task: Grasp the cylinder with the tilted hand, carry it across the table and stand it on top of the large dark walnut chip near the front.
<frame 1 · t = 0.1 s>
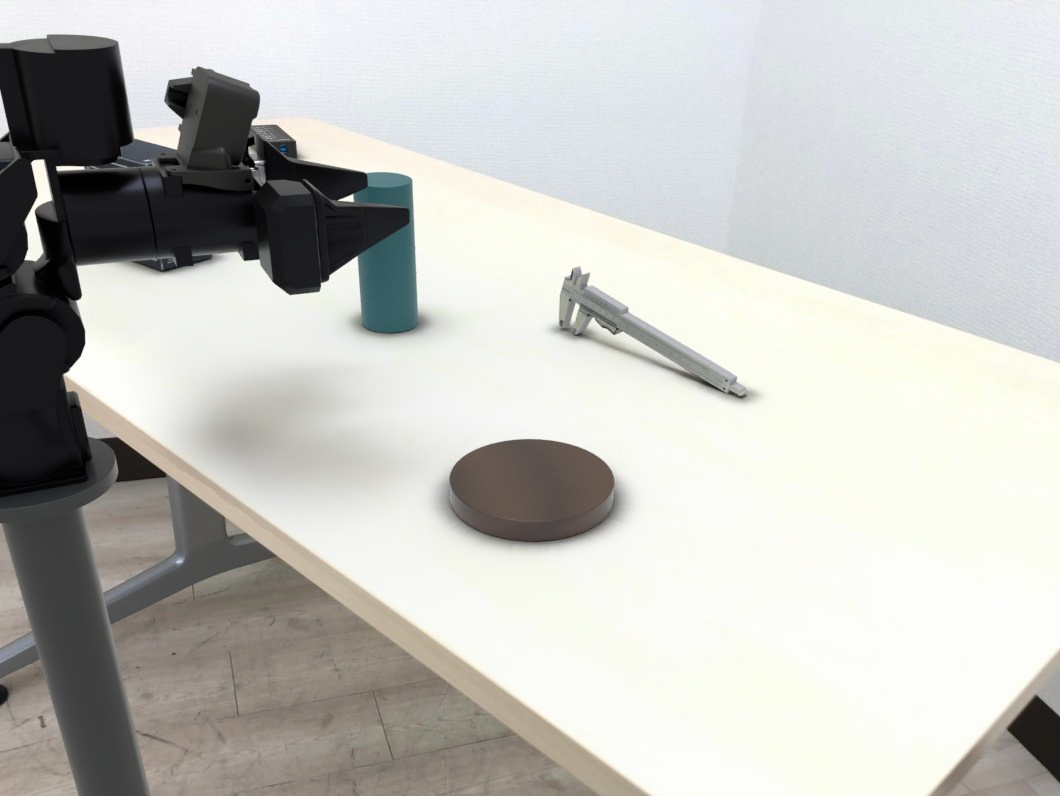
hand: (387, 196, 73), 16 cm above the table, tool horizontal, fingers open, 9 cm apart
multiport hub: (272, 151, 147), on the table
small box: (157, 255, 107), on the table
cylinder: (390, 322, 95), on the table
caliper: (647, 363, 92), on the table
walnut chip: (532, 496, 71), on the table
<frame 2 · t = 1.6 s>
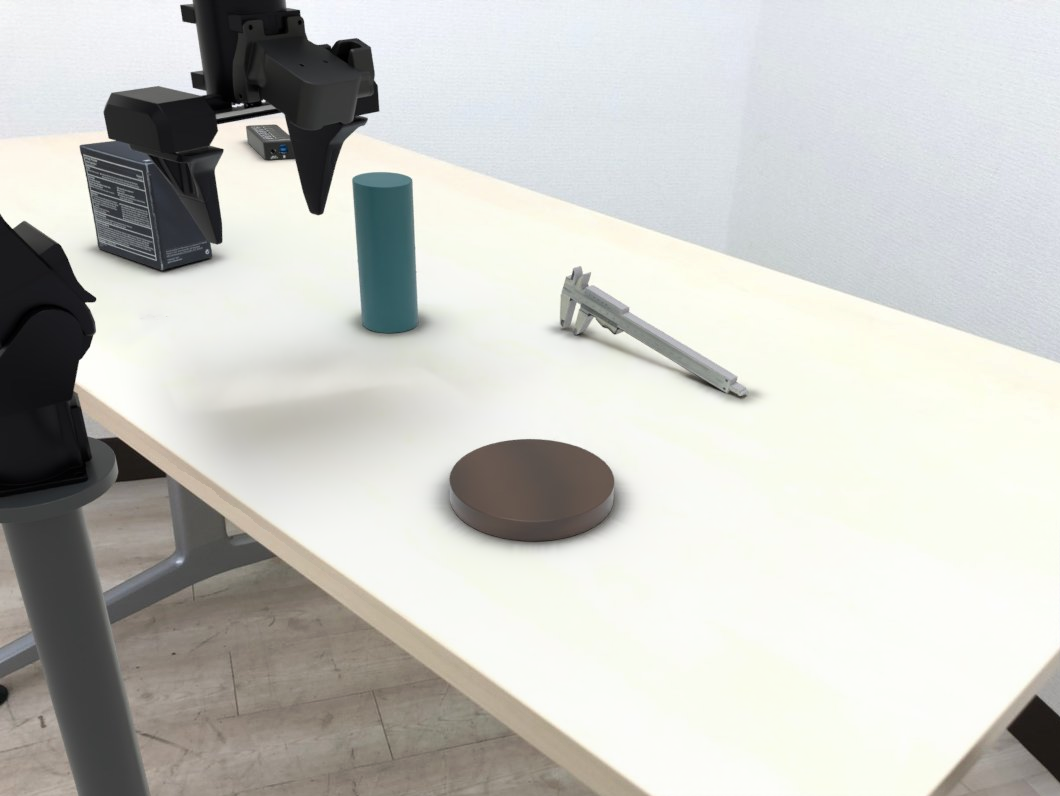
hand: (268, 227, 75), 13 cm above the table, tool pointing down, fingers open, 9 cm apart
nothing on the table moved.
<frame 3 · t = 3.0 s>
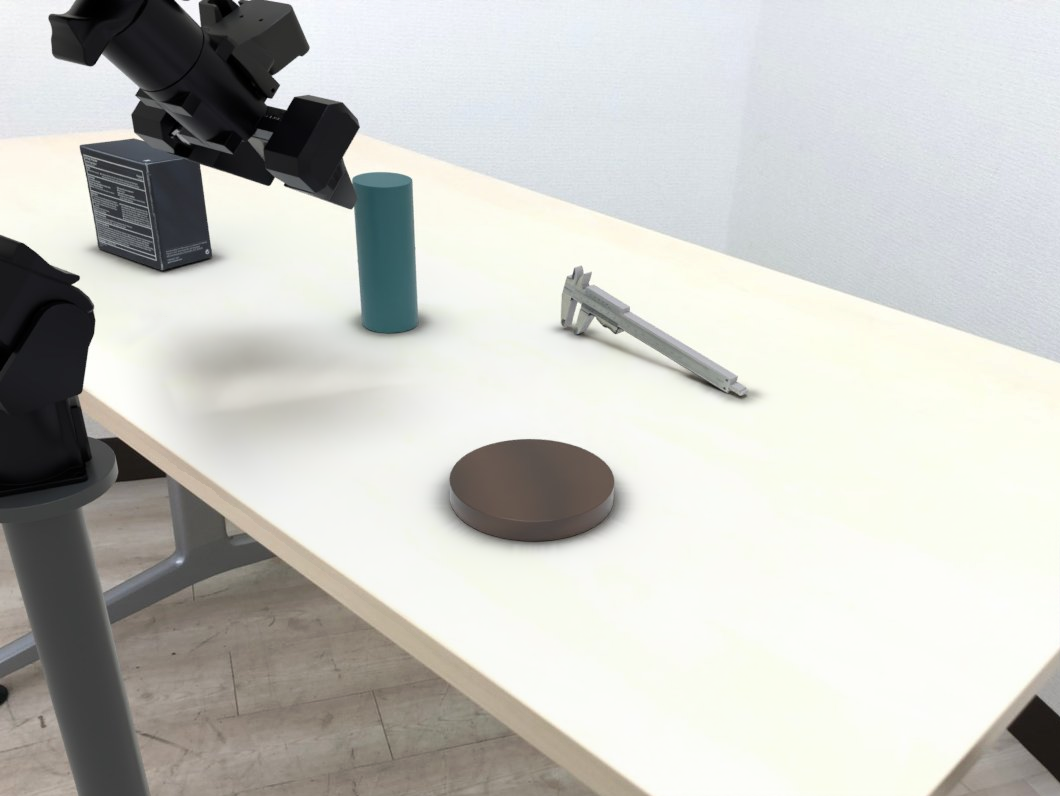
hand: (311, 192, 83), 13 cm above the table, tool tilted 45°, fingers open, 9 cm apart
nothing on the table moved.
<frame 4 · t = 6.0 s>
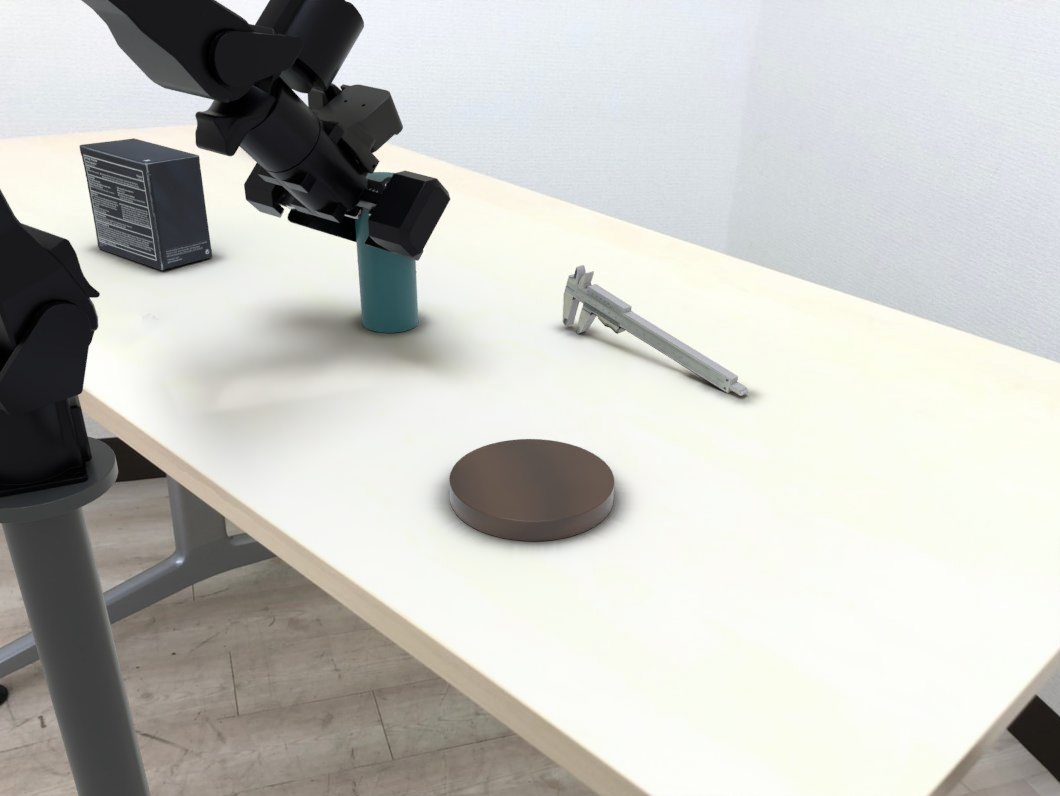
hand: (397, 249, 93), 7 cm above the table, tool tilted 45°, fingers closed on cylinder, 5 cm apart
cylinder: (390, 322, 95), on the table, touching gripper
everything else where it was.
when the fingers open (8 cm above the table, at t = 13.8 s): cylinder stays where it is, resting on walnut chip.
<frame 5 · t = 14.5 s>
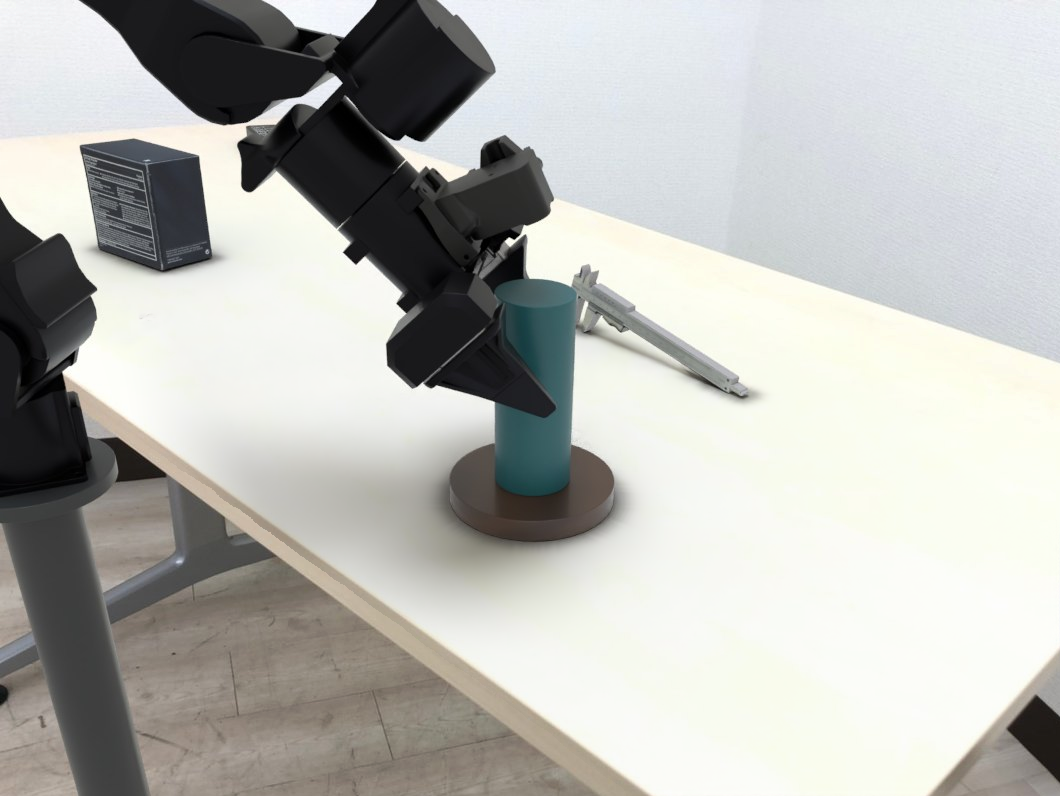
hand: (557, 380, 66), 9 cm above the table, tool tilted 45°, fingers open, 9 cm apart
cylinder: (532, 477, 70), point 1 cm above the table, touching walnut chip
everything else where it was.
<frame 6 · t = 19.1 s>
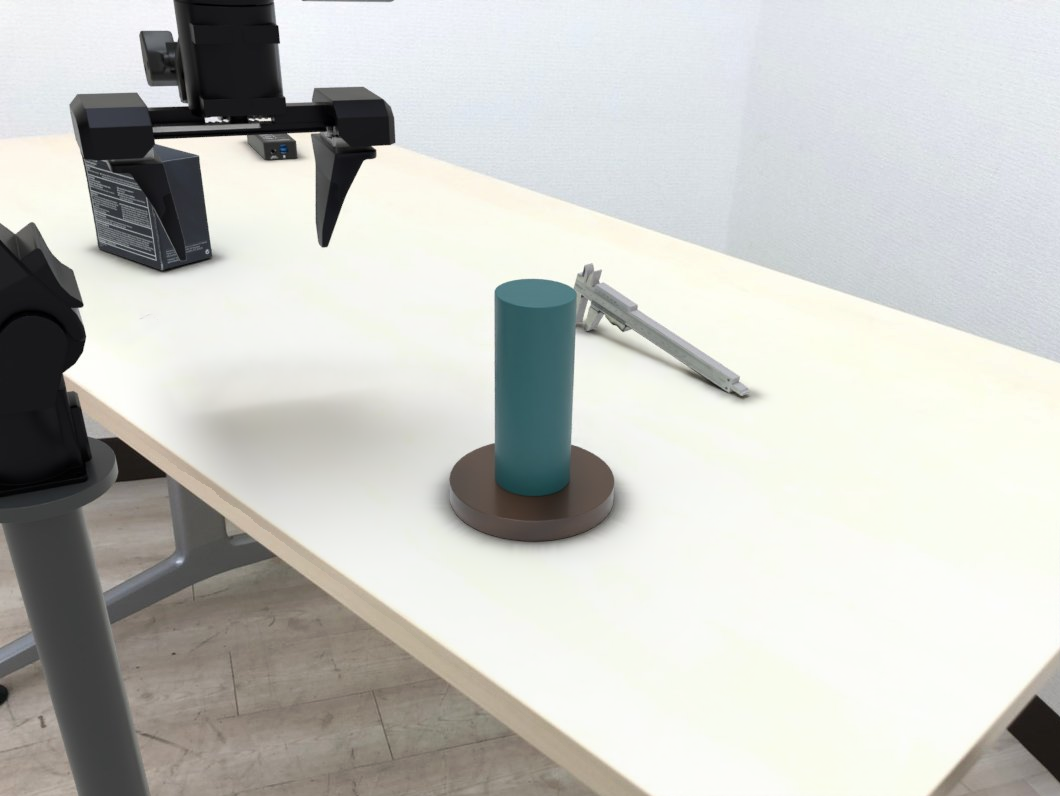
hand: (254, 252, 71), 13 cm above the table, tool pointing down, fingers open, 9 cm apart
nothing on the table moved.
at the end: cylinder 0.0 cm off-centre on the walnut chip, point 1.5 cm above the walnut chip's base; cylinder tilted 0°; the gripper is holding nothing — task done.
